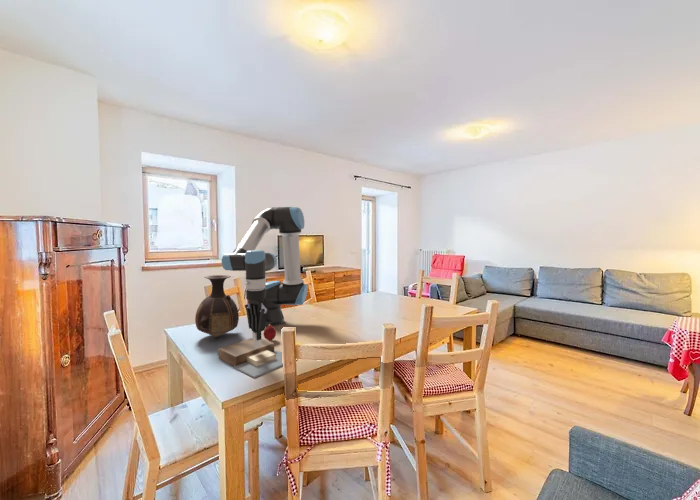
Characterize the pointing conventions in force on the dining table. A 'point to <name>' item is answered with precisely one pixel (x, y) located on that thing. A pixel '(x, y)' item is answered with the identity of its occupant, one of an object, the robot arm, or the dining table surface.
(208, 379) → the dining table surface
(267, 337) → the onion
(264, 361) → the tile
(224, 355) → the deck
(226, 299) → the vase
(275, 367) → the mat
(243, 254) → the robot arm
